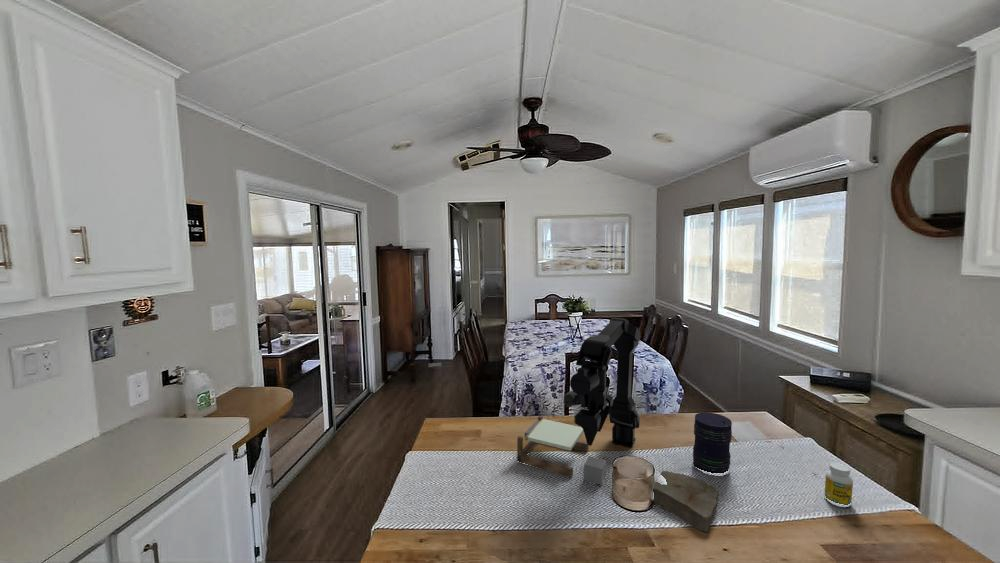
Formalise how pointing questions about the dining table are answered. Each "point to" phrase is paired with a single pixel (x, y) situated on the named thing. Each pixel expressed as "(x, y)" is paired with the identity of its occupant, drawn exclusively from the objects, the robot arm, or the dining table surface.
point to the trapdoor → (554, 434)
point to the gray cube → (595, 470)
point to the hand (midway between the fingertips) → (594, 438)
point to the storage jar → (712, 442)
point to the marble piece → (687, 499)
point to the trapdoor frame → (543, 463)
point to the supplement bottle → (838, 484)
